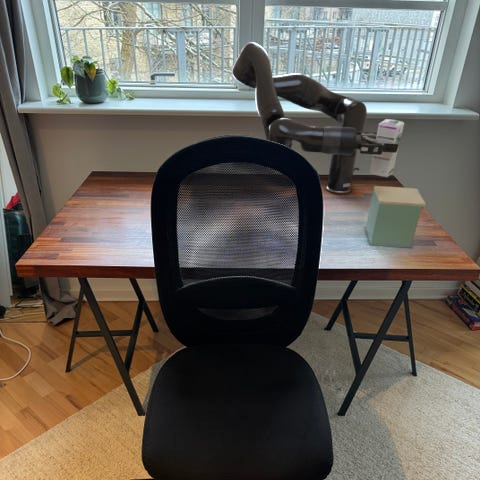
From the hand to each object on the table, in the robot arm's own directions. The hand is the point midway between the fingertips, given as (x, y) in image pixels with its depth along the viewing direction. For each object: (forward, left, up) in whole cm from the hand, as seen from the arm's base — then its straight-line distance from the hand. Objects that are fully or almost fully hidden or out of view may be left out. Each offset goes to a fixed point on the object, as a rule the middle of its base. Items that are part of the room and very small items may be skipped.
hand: (394, 144), depth 131 cm
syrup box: (0, -2, -9) cm, 9 cm away
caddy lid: (-1, +5, -16) cm, 17 cm away
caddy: (-1, +5, -30) cm, 30 cm away
